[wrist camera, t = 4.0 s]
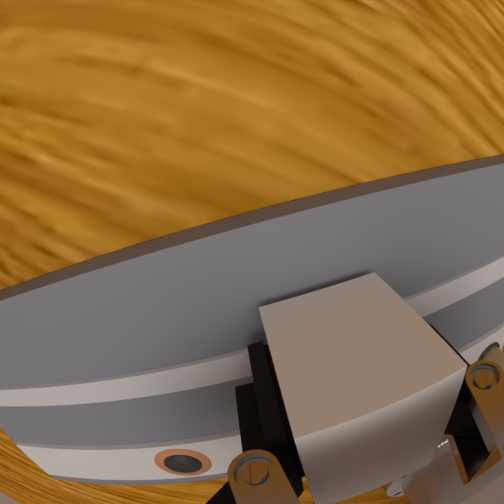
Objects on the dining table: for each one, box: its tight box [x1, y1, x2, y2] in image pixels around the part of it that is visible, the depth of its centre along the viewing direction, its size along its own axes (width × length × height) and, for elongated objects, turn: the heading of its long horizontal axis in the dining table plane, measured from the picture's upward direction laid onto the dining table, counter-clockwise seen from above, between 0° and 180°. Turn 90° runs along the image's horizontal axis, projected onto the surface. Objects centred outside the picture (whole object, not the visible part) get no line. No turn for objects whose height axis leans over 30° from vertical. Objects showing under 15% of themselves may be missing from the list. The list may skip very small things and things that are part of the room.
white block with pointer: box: [259, 272, 467, 504], centre depth 9 cm, size 9×4×5 cm, turn 14°
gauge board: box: [0, 155, 504, 484], centre depth 10 cm, size 14×32×6 cm, turn 104°
